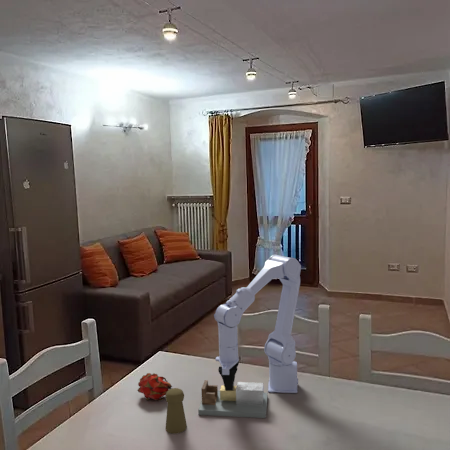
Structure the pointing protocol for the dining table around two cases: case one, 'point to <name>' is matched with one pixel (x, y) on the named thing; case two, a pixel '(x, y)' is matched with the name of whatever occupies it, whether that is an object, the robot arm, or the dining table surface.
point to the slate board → (233, 409)
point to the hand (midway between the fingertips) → (229, 386)
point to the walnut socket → (209, 393)
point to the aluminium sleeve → (249, 394)
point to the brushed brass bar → (228, 394)
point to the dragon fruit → (153, 386)
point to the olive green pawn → (175, 411)
